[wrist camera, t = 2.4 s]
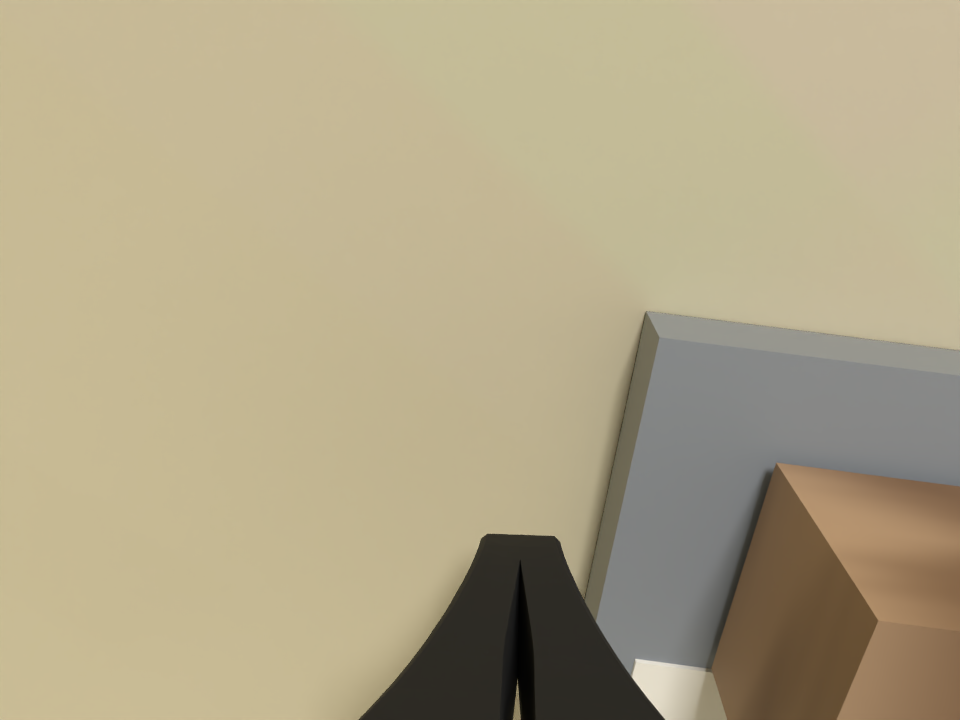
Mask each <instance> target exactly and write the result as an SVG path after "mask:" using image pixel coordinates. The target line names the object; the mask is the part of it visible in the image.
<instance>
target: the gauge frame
mask: <svg viewBox="0 0 960 720" xmlns="http://www.w3.org/2000/svg"><path fill="white" fill-rule="evenodd" d="M776 463H783V464H791V465H799V466H806V467H814V468H822V469H829V470H837V471H845V472H853V473H860V474H868V475H876V476H883V477H891V478H899V479H906V480H914V481H922V482H930V483H937V484H945V485H953V486H960V351H957V350H949V349H941V348H933V347H925V346H918V345H910V344H902V343H894V342H886V341H878V340H870V339H862V338H854V337H846V336H838V335H830V334H822V333H815V332H807V331H799V330H791V329H783V328H775V327H767V326H759V325H751V324H743V323H735V322H727V321H719V320H712V319H704V318H696V317H688V316H680V315H672V314H664V313H656V312H648V311H646V314H645V319H644V324H643V329H642V333H641V338H640V343H639V347H638V352H637V357H636V361H635V366H634V371H633V376H632V380H631V385H630V390H629V394H628V399H627V404H626V408H625V413H624V418H623V423H622V427H621V432H620V437H619V441H618V446H617V451H616V455H615V460H614V465H613V470H612V474H611V479H610V484H609V488H608V493H607V498H606V502H605V507H604V512H603V517H602V521H601V526H600V531H599V535H598V540H597V545H596V549H595V554H594V559H593V564H592V568H591V573H590V578H589V582H588V587H587V592H586V596H585V603H586V605H587V607H588V608H589V610H590V612H591V614H592V616H593V618H594V619H595V621H596V623H597V625H598V626H599V628H600V630H601V631H602V633H603V635H604V636H605V638H606V640H607V641H608V643H609V644H610V646H611V647H612V649H613V650H614V652H615V654H616V655H617V657H618V658H619V660H620V661H621V663H622V664H623V665H624V667H625V668H626V670H627V671H628V673H629V674H630V675H631V677H632V678H633V680H634V681H635V682H636V683H637V685H638V686H639V687H640V689H641V690H642V691H643V693H644V694H645V695H646V697H647V698H648V699H649V700H650V702H651V703H652V704H653V705H654V706H655V708H656V709H657V710H658V711H659V713H660V714H661V715H662V716H663V717H664V719H665V720H727V718H726V714H725V711H724V708H723V705H722V701H721V698H720V695H719V692H718V689H717V685H716V682H715V679H714V676H713V673H712V669H711V668H712V665H713V662H714V658H715V655H716V652H717V649H718V646H719V642H720V639H721V636H722V633H723V630H724V627H725V623H726V620H727V617H728V614H729V611H730V608H731V604H732V601H733V598H734V595H735V592H736V589H737V585H738V582H739V579H740V576H741V573H742V569H743V566H744V563H745V560H746V557H747V554H748V550H749V547H750V544H751V541H752V538H753V535H754V531H755V528H756V525H757V522H758V519H759V515H760V512H761V509H762V506H763V503H764V500H765V496H766V493H767V490H768V487H769V484H770V481H771V477H772V474H773V471H774V468H775V465H776Z"/></svg>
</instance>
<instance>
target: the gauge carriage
mask: <svg viewBox="0 0 960 720" xmlns="http://www.w3.org/2000/svg"><path fill="white" fill-rule="evenodd" d="M711 669H712V673H713V676H714V679H715V682H716V685H717V689H718V692H719V695H720V698H721V701H722V705H723V708H724V711H725V714H726V718H727V720H960V486H953V485H945V484H937V483H930V482H922V481H914V480H906V479H899V478H891V477H883V476H876V475H868V474H860V473H853V472H845V471H837V470H829V469H822V468H814V467H806V466H799V465H791V464H783V463H776V465H775V468H774V471H773V474H772V477H771V481H770V484H769V487H768V490H767V493H766V496H765V500H764V503H763V506H762V509H761V512H760V515H759V519H758V522H757V525H756V528H755V531H754V535H753V538H752V541H751V544H750V547H749V550H748V554H747V557H746V560H745V563H744V566H743V569H742V573H741V576H740V579H739V582H738V585H737V589H736V592H735V595H734V598H733V601H732V604H731V608H730V611H729V614H728V617H727V620H726V623H725V627H724V630H723V633H722V636H721V639H720V642H719V646H718V649H717V652H716V655H715V658H714V662H713V665H712V668H711Z"/></svg>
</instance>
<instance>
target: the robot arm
mask: <svg viewBox="0 0 960 720" xmlns="http://www.w3.org/2000/svg"><path fill="white" fill-rule="evenodd" d="M517 679H518V688H519V701H520V714H521V720H665V719H664V717H663V716H662V715H661V714H660V713H659V711H658V710H657V709H656V708H655V706H654V705H653V704H652V703H651V702H650V700H649V699H648V698H647V697H646V695H645V694H644V693H643V691H642V690H641V689H640V687H639V686H638V685H637V683H636V682H635V681H634V680H633V678H632V677H631V675H630V674H629V673H628V671H627V670H626V668H625V667H624V665H623V664H622V663H621V661H620V660H619V658H618V657H617V655H616V654H615V652H614V650H613V649H612V647H611V646H610V644H609V643H608V641H607V640H606V638H605V636H604V635H603V633H602V631H601V630H600V628H599V626H598V625H597V623H596V621H595V619H594V618H593V616H592V614H591V612H590V610H589V608H588V607H587V605H586V603H585V601H584V599H583V597H582V595H581V593H580V591H579V589H578V587H577V585H576V583H575V581H574V579H573V576H572V574H571V572H570V570H569V567H568V565H567V562H566V560H565V557H564V554H563V551H562V548H561V544H560V541H559V540H558V539H557V538H556V537H555V536H535V535H507V534H486V535H485V536H484V537H483V538H482V539H481V541H480V544H479V548H478V550H477V553H476V555H475V558H474V560H473V562H472V564H471V567H470V569H469V571H468V573H467V575H466V577H465V579H464V581H463V582H462V584H461V586H460V588H459V589H458V591H457V593H456V595H455V596H454V598H453V600H452V602H451V603H450V605H449V607H448V608H447V610H446V612H445V613H444V615H443V616H442V618H441V619H440V621H439V622H438V624H437V625H436V627H435V628H434V630H433V631H432V633H431V634H430V636H429V637H428V639H427V640H426V642H425V643H424V644H423V646H422V647H421V648H420V650H419V651H418V652H417V654H416V655H415V656H414V658H413V659H412V660H411V661H410V663H409V664H408V665H407V667H406V668H405V669H404V670H403V671H402V673H401V674H400V675H399V676H398V677H397V679H396V680H395V681H394V682H393V683H392V684H391V686H390V687H389V688H388V689H387V690H386V691H385V692H384V693H383V694H382V695H381V696H380V698H379V699H378V700H377V701H376V702H375V703H374V704H373V705H372V706H371V707H370V708H369V709H368V711H367V712H366V713H365V714H364V715H363V716H362V717H361V718H360V719H359V720H513V713H514V705H515V696H516V688H517Z"/></svg>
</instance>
